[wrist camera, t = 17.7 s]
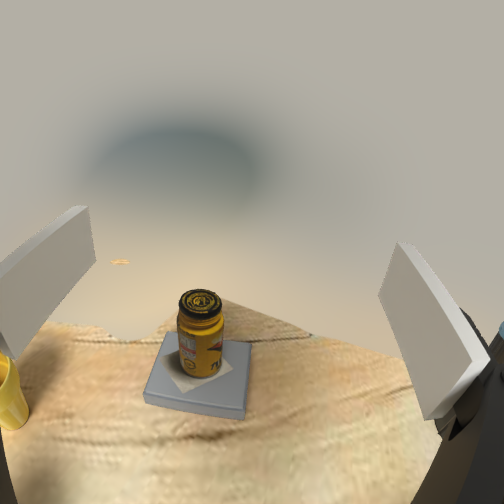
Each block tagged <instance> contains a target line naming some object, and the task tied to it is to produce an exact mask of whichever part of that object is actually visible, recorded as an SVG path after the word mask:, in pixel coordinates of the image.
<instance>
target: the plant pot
mask: <svg viewBox="0 0 504 504" xmlns="http://www.w3.org/2000/svg"><path fill="white" fill-rule="evenodd" d="M28 416H29V407H28V404H27V402H26V400H25V397H24V395H23V392H22V390H21V387H20V377H19V373H18V371H17V369H16V367H15V365H14V363H13V362H12V360H11V358H9V357H7V356H5V355H3V354H2V352H1V350H0V426H1V427H3V428H5V429H7V430H16V429H18V428H20V427H22V426H23V425H24V424H25V422H26V421H27V419H28Z"/></svg>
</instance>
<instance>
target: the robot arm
mask: <svg viewBox="0 0 504 504" xmlns="http://www.w3.org/2000/svg"><path fill="white" fill-rule="evenodd" d="M95 262H96V257H95V252H94V245H93V239H92V232H91V225H90V217H89V208H88V206H77V205H75V206H73V207H72V208H70V209H69V210H68V211H66V212H65V213H63V214H62V215H60V216H59V217H58V218H56V219H55V220H54V221H52V222H51V223H50V224H48V225H47V226H45V227H44V228H43V229H41V230H40V231H39V232H37V233H36V234H35V235H34V236H32V237H31V238H30V239H28V240H27V241H26V242H25V243H23V244H22V245H21V246H20V247H19V248H17V249H16V250H15V251H14V252H12V254H10V255H9V256H8V257H6V258H5V259H4V260H3V261H2V262H1V263H0V350H1V352H2V354H3V355H5V356H7V357H9V358H11V359H14V360H16V361H17V359H18V358H19V356H20V355H21V353H22V352H23V351H24V349H25V348H26V347H27V345H28V344H29V342H30V341H31V340H32V338H33V337H34V336H35V334H36V333H37V332H38V330H39V329H40V328H41V326H42V325H43V324H44V322H45V321H46V320H47V319H48V317H49V316H50V315H51V314H52V312H53V311H54V310H55V308H56V307H57V306H58V305H59V304H60V302H61V301H62V300H63V299H64V298H65V296H66V295H67V294H68V293H69V292H70V290H71V289H72V288H73V287H74V286H75V284H76V283H77V282H78V281H79V280H80V279H81V277H82V276H83V275H84V274H85V273H86V272H87V271H88V270H89V268H90V267H91V266H92V265H93V264H94V263H95ZM378 297H379V299H380V302H381V304H382V306H383V309H384V311H385V313H386V316H387V318H388V320H389V323H390V325H391V328H392V330H393V333H394V335H395V338H396V340H397V343H398V345H399V348H400V351H401V353H402V356H403V359H404V361H405V364H406V367H407V370H408V372H409V375H410V378H411V381H412V384H413V387H414V390H415V393H416V396H417V399H418V402H419V405H420V408H421V411H422V414H423V418H424V421H425V420H432V419H435V422H436V426H437V429H438V431H439V433H438V434H439V435H441V437H442V438H443V440H442V442H441V445H440V447H439V449H438V452H437V454H436V456H435V458H434V460H433V462H432V464H431V467H430V469H429V471H428V473H427V475H426V477H425V479H424V480H423V482H422V484H421V486H420V488H419V490H418V492H417V493H416V495H415V497H414V499H413V500H412V502H411V504H504V322H503V323H502V324H501V325H500V327H499V331H498V333H497V335H496V336H495V338H494V339H493V341H492V342H491V344H490V345H489V347H488V345H487V343H486V342H485V340H484V339H483V337H481V334H480V332H479V330H478V329H477V328H476V326H475V324H474V323H473V321H472V320H471V318H470V317H469V316H468V315H467V314H466V313H465V312H464V311H463V310H462V309H461V308H459V307H458V306H457V304H456V303H455V301H454V300H453V298H452V297H451V295H450V294H449V292H448V291H447V290H446V288H445V287H444V285H443V284H442V283H441V281H440V280H439V278H438V277H437V276H436V274H435V273H434V272H433V270H432V269H431V268H430V267H429V265H428V264H427V262H426V261H425V260H424V259H423V257H422V256H421V255H420V253H419V252H418V251H417V249H416V248H415V247H414V246H413V244H409V243H403V242H397V243H396V246H395V249H394V252H393V255H392V259H391V261H390V264H389V267H388V270H387V273H386V276H385V278H384V281H383V284H382V286H381V289H380V292H379V295H378ZM0 504H18V503H17V499H16V496H15V493H14V489H13V486H12V482H11V478H10V474H9V470H8V466H7V462H6V457H5V452H4V447H3V441H2V435H1V428H0Z"/></svg>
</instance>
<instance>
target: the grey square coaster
mask: <svg viewBox="0 0 504 504" xmlns="http://www.w3.org/2000/svg"><path fill="white" fill-rule="evenodd" d="M251 348H252V344H249V343H245V342H237V341H229V340H223V348H222V357H223V358H224V359H225V360H226V361H227V362H228V363H229V364H230V365H231V366H232V367H233V368H234V369H233V370H231V371H229V372H228V373H225V374H224V375H222V376H220V377H217V378H216V379H214V380H212V381H209V382H207V383H205V384H202V385H200V386H198V387H196V388H194V389H192V390H190V391H187V392H186V393H182V392H181V390H180V389H179V388H178V387H177V385H176V384H175V382H174V381H173V380H172V378H171V377H170V375H169V374H168V372H167V371H166V369H165V368H164V366H163V365H162V363H161V362H160V360H159V358H160V357H162V356H164V355H168V354H170V353H173V352H175V351H177V350H179V343H178V333H176V332H170V331H168V332H167V333H166V335H165V338H164V340H163V343H162V345H161V348H160V350H159V353H158V355H157V358H156V360H155V363H154V366H153V368H152V371H151V373H150V376H149V379H148V381H147V384H146V387H145V389H144V392H143V397H144V400H145V403H147V404H151V405H156V406H160V407H165V408H169V409H174V410H179V411H184V412H190V413H196V414H201V415H208V416H214V417H221V418H229V419H237V420H244V416H245V409H246V399H247V389H248V379H249V369H250V358H251Z"/></svg>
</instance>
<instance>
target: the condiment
mask: <svg viewBox="0 0 504 504" xmlns="http://www.w3.org/2000/svg"><path fill="white" fill-rule="evenodd" d="M221 307H222V302H221V299H220V298H219V296H218V295H217V294H215V292H212V291H209V290H205V289H196V290H190V291H187V292H186V293H184V294H183V295H182V296H181V299H180V300H179V313H178V316H177V331H178V343H179V350H177V351H175V352H173V353H170V354H168V355H164V356H162V357H160V358H159V360H160V362H161V363H162V365H163V366H164V368H165V369H166V371H167V372H168V374H169V375H170V377H171V378H172V380H173V381H174V382H175V384H176V385H177V387H178V388H179V389H180V390H181V392H182V393H186V392H187V391H190V390H192V389H194V388H196V387H198V386H200V385H202V384H205V383H207V382H209V381H212V380H214V379H216V378H217V377H220V376H222V375H224V374H225V373H228V372H229V371H231V370H233V369H234V368H233V367H232V366H231V365H230V364H229V363H228V362H227V361H226V360H225V359H224V358H223V357H222V348H223V329H224V318H223V315H222V310H221Z"/></svg>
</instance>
